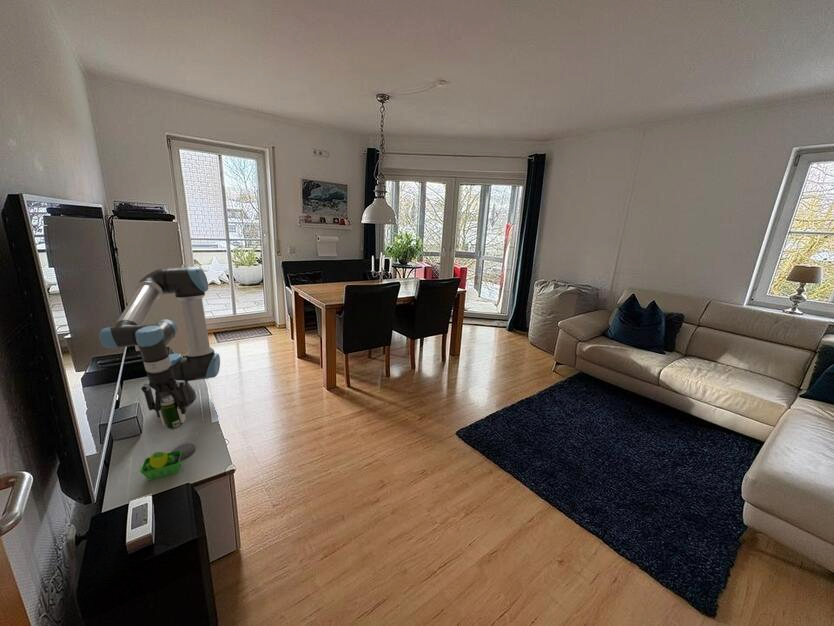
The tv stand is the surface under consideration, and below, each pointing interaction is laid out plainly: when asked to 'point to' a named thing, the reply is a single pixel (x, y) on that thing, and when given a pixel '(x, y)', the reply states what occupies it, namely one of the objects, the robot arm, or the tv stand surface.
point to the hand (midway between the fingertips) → (174, 421)
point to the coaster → (185, 450)
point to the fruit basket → (161, 464)
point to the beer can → (170, 412)
